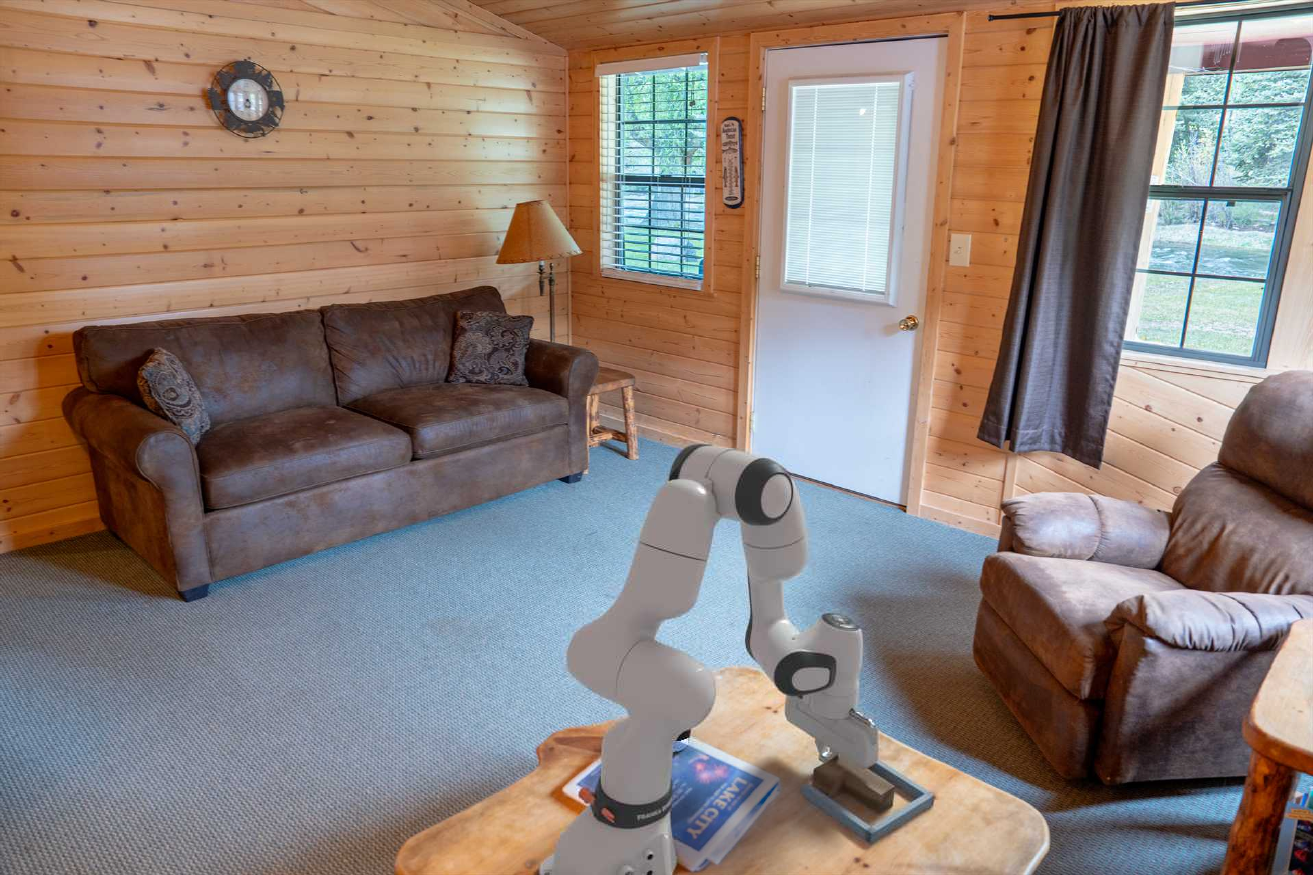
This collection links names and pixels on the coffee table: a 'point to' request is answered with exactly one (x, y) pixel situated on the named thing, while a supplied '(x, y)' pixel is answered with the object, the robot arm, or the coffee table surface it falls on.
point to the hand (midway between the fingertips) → (827, 762)
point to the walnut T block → (854, 783)
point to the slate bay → (886, 825)
